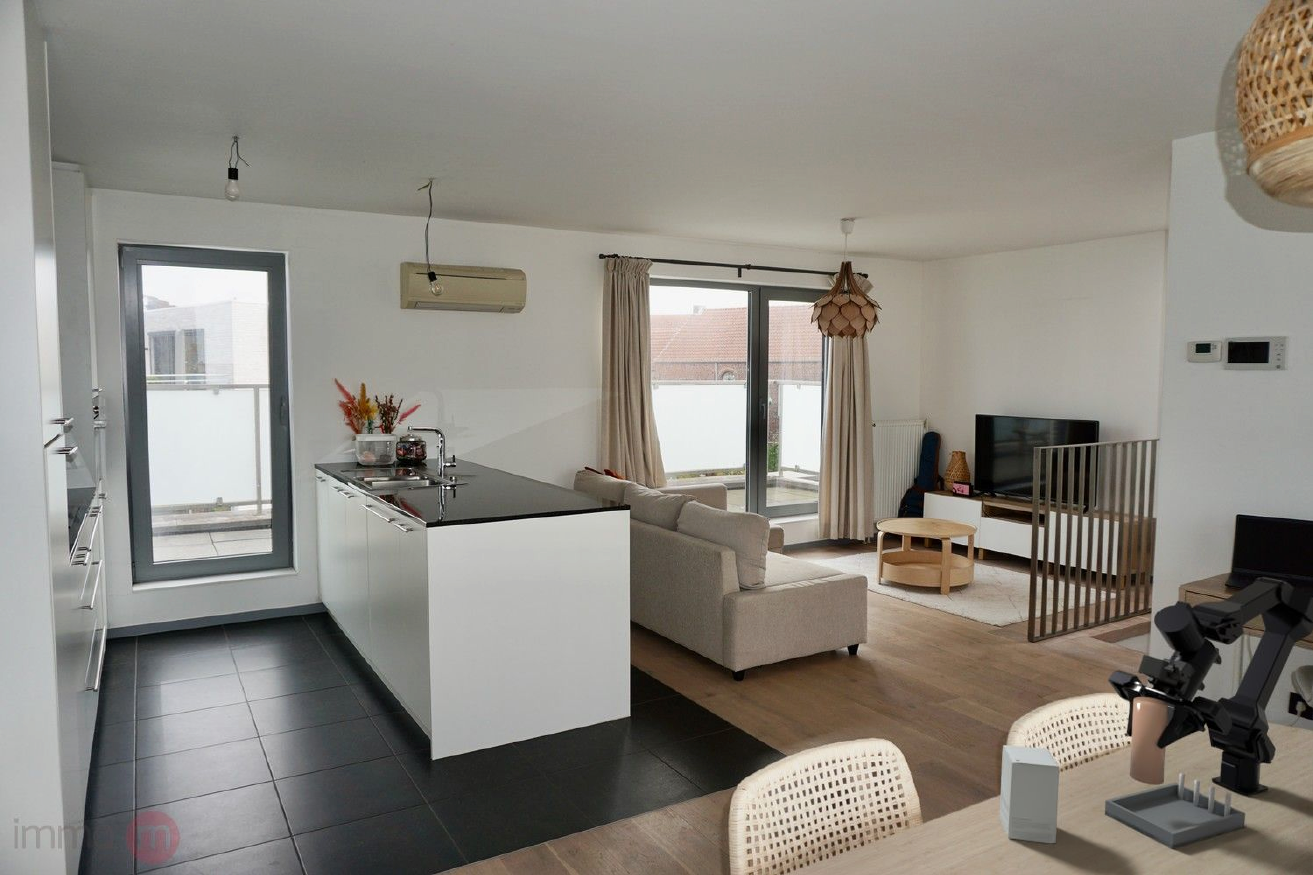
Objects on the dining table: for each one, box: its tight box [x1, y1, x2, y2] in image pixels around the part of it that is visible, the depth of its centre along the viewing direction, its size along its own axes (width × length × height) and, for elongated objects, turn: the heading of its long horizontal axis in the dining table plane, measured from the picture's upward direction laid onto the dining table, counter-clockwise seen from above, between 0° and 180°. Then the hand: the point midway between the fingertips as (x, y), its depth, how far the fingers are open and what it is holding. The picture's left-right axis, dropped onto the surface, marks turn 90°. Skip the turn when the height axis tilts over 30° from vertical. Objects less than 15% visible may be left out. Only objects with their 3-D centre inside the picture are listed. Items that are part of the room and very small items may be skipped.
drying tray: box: [1104, 772, 1246, 850], centre depth 145 cm, size 18×12×5 cm, turn 114°
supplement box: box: [999, 744, 1060, 844], centre depth 141 cm, size 7×7×13 cm
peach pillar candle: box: [1129, 697, 1169, 786], centre depth 145 cm, size 5×5×13 cm
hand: (1143, 740), depth 145 cm, fingers closed on peach pillar candle, 5 cm apart
